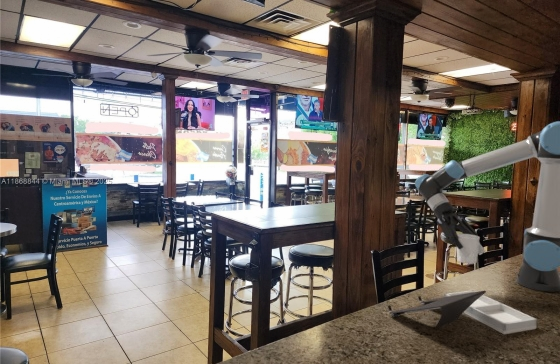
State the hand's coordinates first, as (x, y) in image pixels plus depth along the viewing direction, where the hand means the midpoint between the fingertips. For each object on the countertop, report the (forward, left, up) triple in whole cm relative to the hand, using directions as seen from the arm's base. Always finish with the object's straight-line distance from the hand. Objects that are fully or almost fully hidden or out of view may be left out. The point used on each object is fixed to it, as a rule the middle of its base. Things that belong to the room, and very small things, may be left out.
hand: (475, 254), depth 138 cm
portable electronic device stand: (+31, +14, -15) cm, 38 cm away
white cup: (+1, -3, -4) cm, 5 cm away
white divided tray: (+11, +17, -15) cm, 25 cm away
